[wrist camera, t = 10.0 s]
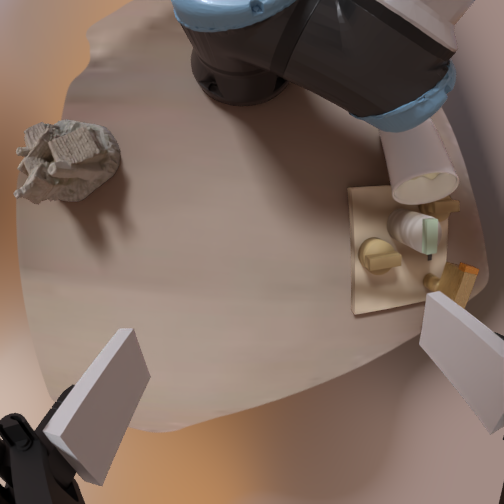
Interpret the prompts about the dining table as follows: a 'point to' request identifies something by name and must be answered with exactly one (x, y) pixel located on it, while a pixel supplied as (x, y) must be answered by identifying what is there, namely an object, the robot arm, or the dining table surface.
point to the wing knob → (453, 282)
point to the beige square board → (394, 247)
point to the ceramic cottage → (66, 160)
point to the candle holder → (418, 165)
